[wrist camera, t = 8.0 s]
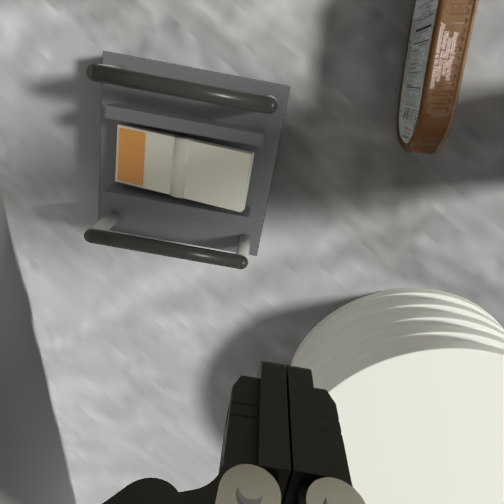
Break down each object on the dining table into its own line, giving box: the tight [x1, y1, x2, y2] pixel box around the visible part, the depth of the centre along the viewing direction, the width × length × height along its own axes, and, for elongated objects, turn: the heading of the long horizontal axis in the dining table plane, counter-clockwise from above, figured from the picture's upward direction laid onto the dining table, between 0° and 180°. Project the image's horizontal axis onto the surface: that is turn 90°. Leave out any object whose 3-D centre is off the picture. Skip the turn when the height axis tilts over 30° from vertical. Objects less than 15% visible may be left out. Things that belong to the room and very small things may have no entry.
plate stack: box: [290, 288, 504, 504], centre depth 47 cm, size 28×28×12 cm
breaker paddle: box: [115, 124, 255, 212], centre depth 36 cm, size 12×5×2 cm, turn 80°
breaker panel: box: [84, 51, 290, 269], centre depth 37 cm, size 16×16×10 cm
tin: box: [397, 0, 478, 154], centre depth 33 cm, size 15×3×8 cm, turn 179°
